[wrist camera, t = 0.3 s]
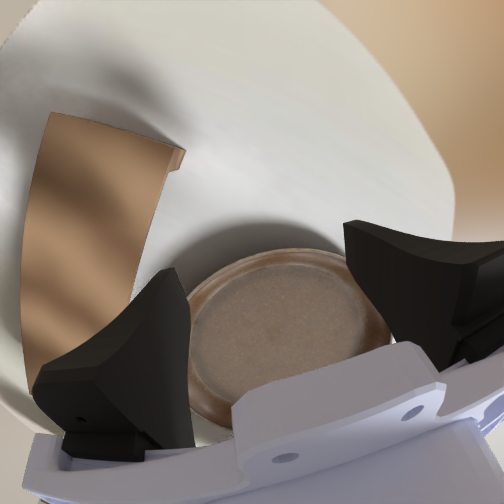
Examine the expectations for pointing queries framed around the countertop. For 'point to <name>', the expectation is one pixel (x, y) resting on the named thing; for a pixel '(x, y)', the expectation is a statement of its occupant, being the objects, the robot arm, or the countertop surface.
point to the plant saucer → (274, 325)
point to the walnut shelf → (85, 231)
